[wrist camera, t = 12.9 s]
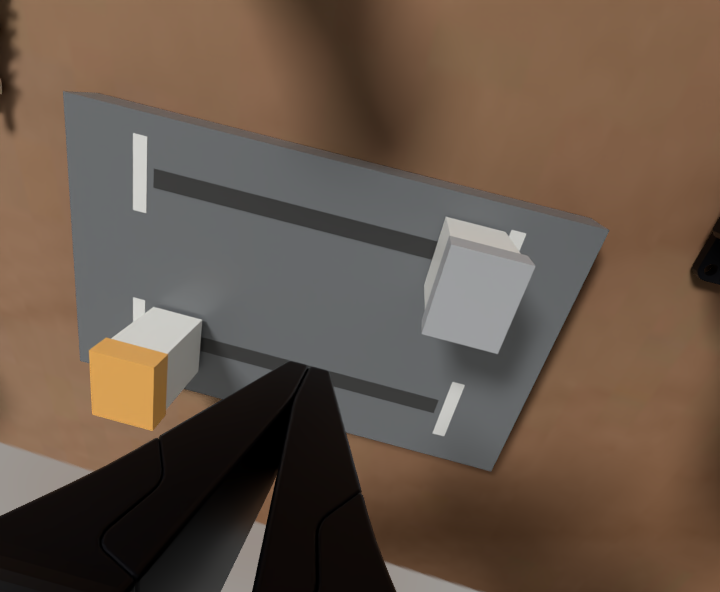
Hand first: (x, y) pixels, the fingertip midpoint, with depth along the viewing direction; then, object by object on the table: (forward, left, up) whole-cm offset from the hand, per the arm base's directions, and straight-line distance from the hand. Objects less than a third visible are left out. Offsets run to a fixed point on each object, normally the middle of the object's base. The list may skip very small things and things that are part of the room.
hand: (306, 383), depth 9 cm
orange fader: (+8, +7, -10) cm, 14 cm away
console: (+2, +4, -12) cm, 13 cm away
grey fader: (-4, 0, -10) cm, 11 cm away
